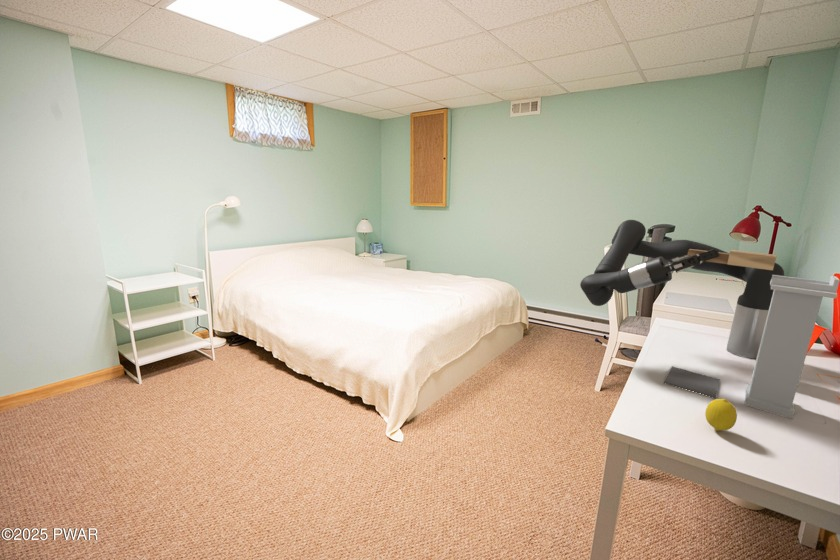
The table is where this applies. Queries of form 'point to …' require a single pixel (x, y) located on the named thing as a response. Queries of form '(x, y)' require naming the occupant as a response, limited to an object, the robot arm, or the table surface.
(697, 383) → the mat
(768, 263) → the bar
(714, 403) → the lemon
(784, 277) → the stand
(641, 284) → the robot arm
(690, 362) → the table surface
